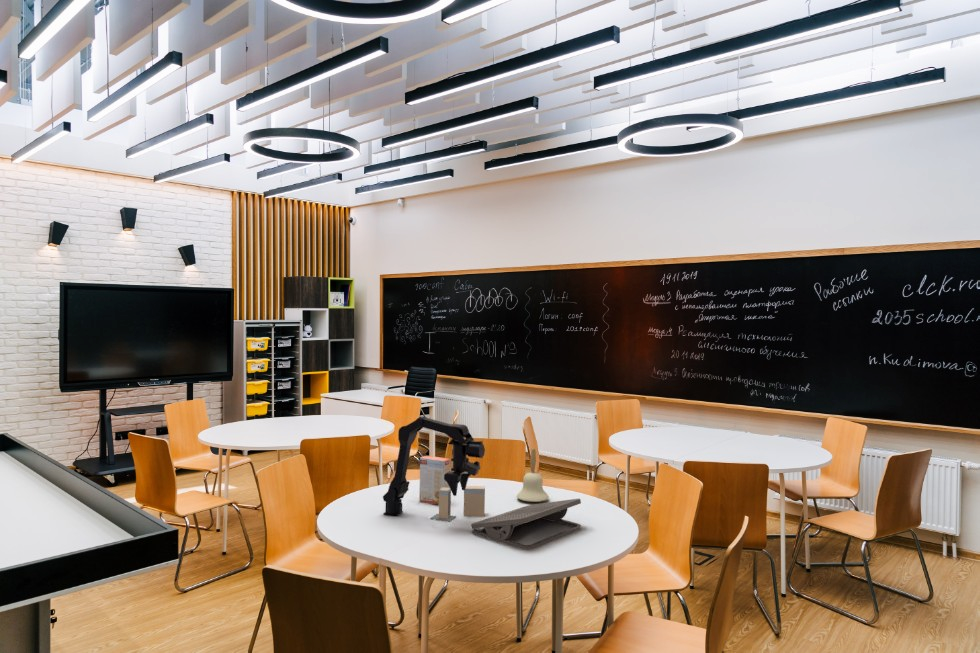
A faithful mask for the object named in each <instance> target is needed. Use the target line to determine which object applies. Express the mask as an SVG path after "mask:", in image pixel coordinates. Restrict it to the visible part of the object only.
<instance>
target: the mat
mask: <svg viewBox="0 0 980 653" xmlns="http://www.w3.org/2000/svg"><path fill="white" fill-rule="evenodd" d="M455 518H457V516H456V515H450V517H449V518H448V519H444V518H439V513H436V514H434V515H433V516H431V517H430V518H429V520H433V519H436V520H435V521H440V520H441V521H443V522H449V523H450V522H451V521H452V520H454V519H455Z"/></svg>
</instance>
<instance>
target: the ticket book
mask: <svg viewBox="0 0 980 653" xmlns="http://www.w3.org/2000/svg"><path fill="white" fill-rule="evenodd" d="M485 501H486V487H485V485H466V488H465V490H463V517H485V508H486V507H485V506H486V503H485Z"/></svg>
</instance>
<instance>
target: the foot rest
mask: <svg viewBox="0 0 980 653" xmlns="http://www.w3.org/2000/svg"><path fill="white" fill-rule="evenodd" d="M581 504H582V500H581V498H572V499H566V500H564V499H563V500H558V501H550V502H541V503H536V504H535V503H534V504H529V505H525V506H522V507H519V508H516V509H513V510H510V511H506V512H502V513H500V514H497V515H495V516H490V517H488V518H484V519H480V520H478V521H476V522H472V523H471V524H470V526H471V529H472V534H474V535H477V536H480V537H484V538H487V539H490V540H493V541H496V542H498V543H501V544H505V545H507V546H511V547H514V548H516V549H520V550H524V551H532V550H535V549H537V548H539V547H542V546H544V545H547V544H549V543H552V542H554V541H556V540H559V539H561V538H564V537H567V536H569V535H572V534H574V533H577V532H579V531H581V530H582V525H581V524H580V523H577V522H573V521H570V520H566V519H563V518H565V517H566V514H567V512H568V509H569V508H572V507H575V506H577V505H581ZM538 519H544V520H547V521H551V522H553V523H554V522H555V523H558V524H561V525H565V526H568V527H571V528H569V529H566V530H563V531H561V532H559V533H556V534H554V535H551V536H548V537H546V538H543V539H540V540H538V541H536V542H534V543H531V544H523V543H520V542H517V541H514V540H510V539H509V538H510V537H511V536H512V534H513V532H514V528H515V527H518V526H521V525H523V524H526V523H529V522H532V521H535V520H538ZM483 528H484V530H485V531H483V530H480V529H483Z"/></svg>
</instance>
